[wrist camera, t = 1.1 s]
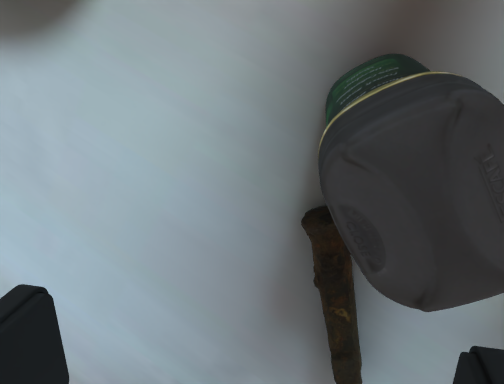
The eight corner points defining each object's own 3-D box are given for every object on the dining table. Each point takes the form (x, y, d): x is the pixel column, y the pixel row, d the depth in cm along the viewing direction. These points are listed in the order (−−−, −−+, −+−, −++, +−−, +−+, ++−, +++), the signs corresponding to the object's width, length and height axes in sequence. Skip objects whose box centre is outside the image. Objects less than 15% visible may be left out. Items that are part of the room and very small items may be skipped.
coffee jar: (310, 90, 32) (280, 150, 15) (410, 37, 29) (512, 36, 12) (362, 194, 34) (388, 352, 17) (459, 154, 31) (605, 292, 14)
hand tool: (303, 203, 35) (298, 226, 31) (350, 200, 34) (352, 223, 30) (322, 374, 42) (321, 413, 37) (363, 376, 41) (366, 416, 36)
